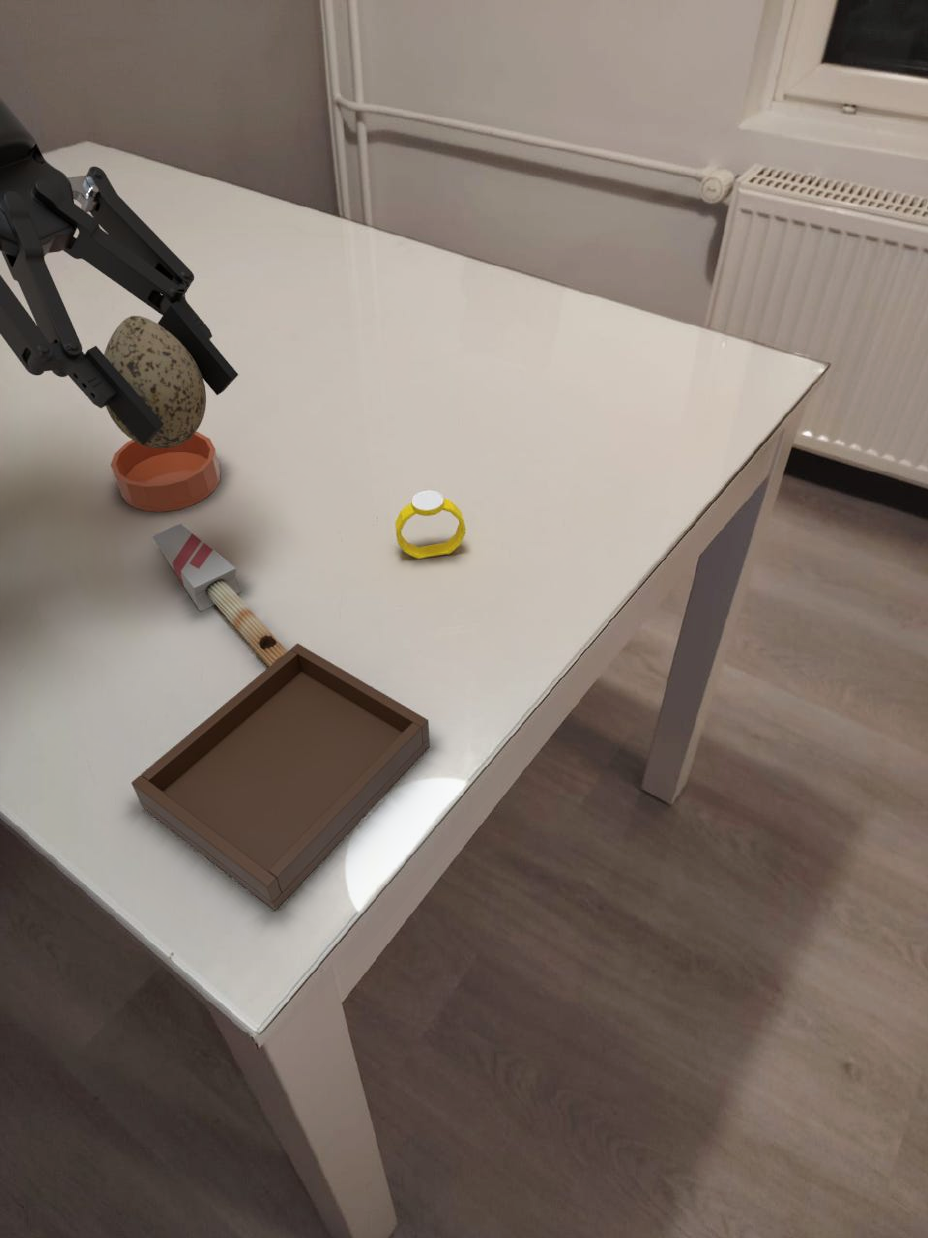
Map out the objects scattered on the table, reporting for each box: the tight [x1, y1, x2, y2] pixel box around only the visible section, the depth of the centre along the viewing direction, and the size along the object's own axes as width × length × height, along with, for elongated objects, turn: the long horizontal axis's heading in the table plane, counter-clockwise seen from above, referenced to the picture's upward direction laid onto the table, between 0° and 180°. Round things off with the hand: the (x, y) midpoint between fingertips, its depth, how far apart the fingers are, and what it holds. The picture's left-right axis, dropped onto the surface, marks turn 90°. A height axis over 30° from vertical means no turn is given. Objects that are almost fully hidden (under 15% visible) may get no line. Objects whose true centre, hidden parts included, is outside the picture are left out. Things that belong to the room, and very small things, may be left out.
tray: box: [131, 643, 431, 911], centre depth 60 cm, size 16×13×3 cm
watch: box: [395, 489, 467, 560], centre depth 75 cm, size 6×3×6 cm, turn 100°
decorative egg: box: [103, 315, 207, 448], centre depth 63 cm, size 7×7×10 cm
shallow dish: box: [110, 431, 221, 513], centre depth 84 cm, size 10×10×3 cm
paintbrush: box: [151, 523, 289, 668], centre depth 72 cm, size 4×3×20 cm
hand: (191, 408), depth 63 cm, fingers closed on decorative egg, 7 cm apart
